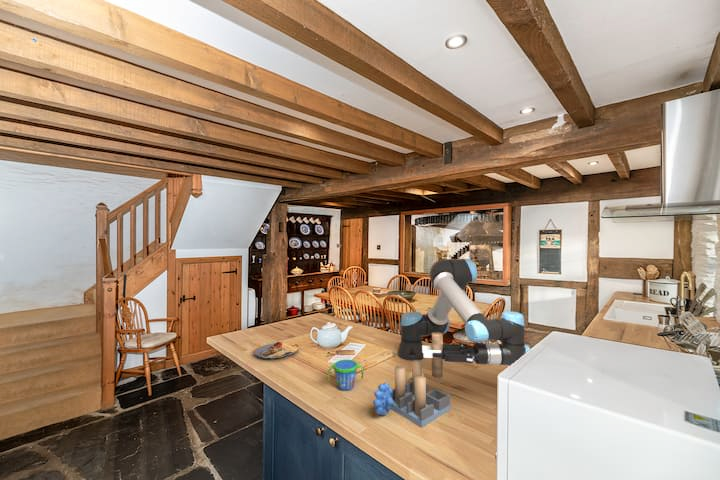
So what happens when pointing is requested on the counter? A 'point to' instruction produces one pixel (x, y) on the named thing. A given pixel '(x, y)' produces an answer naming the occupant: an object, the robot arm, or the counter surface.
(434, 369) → the loose leg
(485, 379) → the counter surface
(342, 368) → the snack cup
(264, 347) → the food plate
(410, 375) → the tiered building model
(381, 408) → the grapes
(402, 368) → the stool
